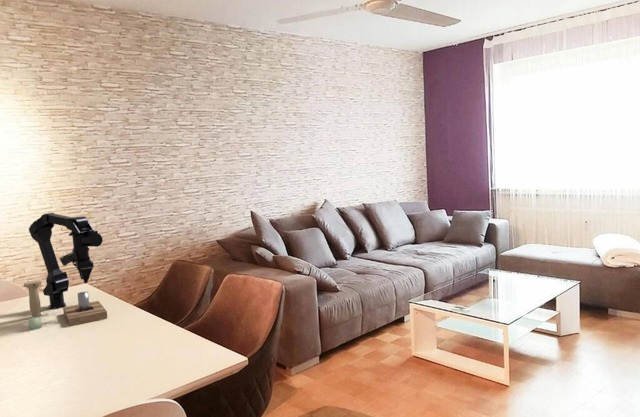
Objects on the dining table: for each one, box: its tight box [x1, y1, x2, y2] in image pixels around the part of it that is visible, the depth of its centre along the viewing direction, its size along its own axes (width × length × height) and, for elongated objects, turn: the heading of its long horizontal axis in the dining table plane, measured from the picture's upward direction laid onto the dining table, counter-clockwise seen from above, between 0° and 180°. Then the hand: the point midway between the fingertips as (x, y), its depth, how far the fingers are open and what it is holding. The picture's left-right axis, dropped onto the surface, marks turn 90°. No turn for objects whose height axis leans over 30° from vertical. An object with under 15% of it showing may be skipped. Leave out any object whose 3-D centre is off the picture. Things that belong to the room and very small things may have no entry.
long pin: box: [77, 291, 90, 312], centre depth 203 cm, size 4×4×10 cm
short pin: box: [27, 316, 42, 331], centre depth 191 cm, size 4×4×4 cm
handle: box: [23, 280, 42, 318], centre depth 205 cm, size 5×6×15 cm
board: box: [62, 300, 108, 327], centre depth 203 cm, size 20×14×3 cm
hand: (84, 281), depth 211 cm, fingers open, 9 cm apart
